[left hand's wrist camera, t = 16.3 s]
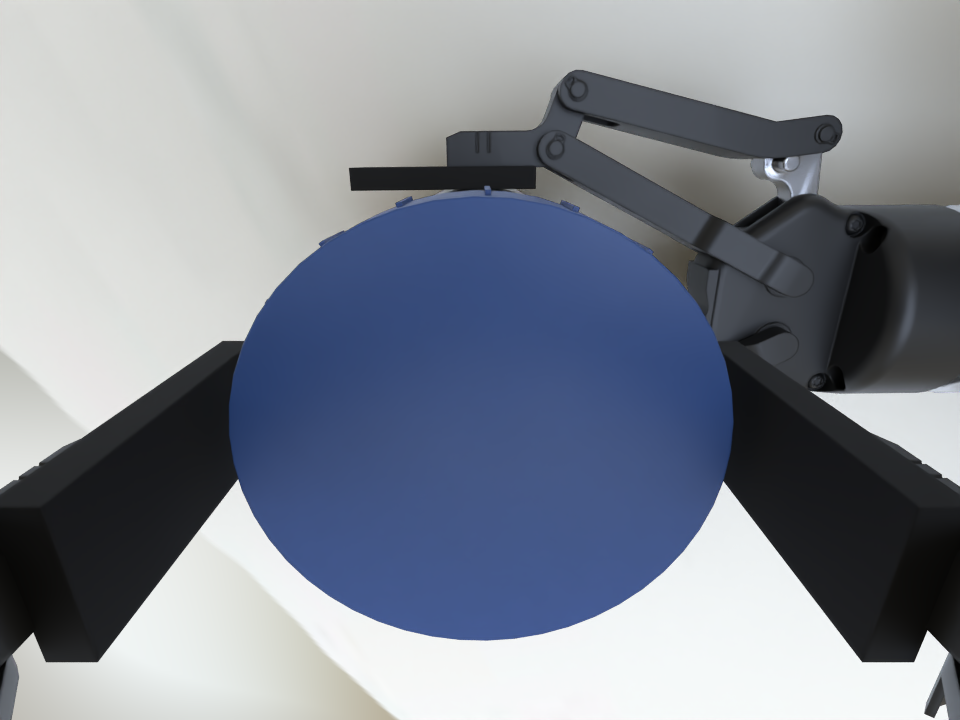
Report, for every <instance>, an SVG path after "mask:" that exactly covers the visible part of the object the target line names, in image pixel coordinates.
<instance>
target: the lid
mask: <svg viewBox="0 0 960 720" xmlns="http://www.w3.org/2000/svg"><path fill="white" fill-rule="evenodd" d="M395 204H396V207H394V208H391V209H389V210H386V211H384V212H381V213H379V214H377V215H375V216H373V217H371V218H369V219H367V220H365V221H363V222H361V223H359V224H358V225H356V226H354V227H352V228H351V229H349V230H347V231H345V232H344V231H341V232H339V233H337V234H335V235H333V236H331V237H329V238H327V239H325V240H323V241H321V242H320V243H319V245H320V246H321V247H320V248H319V249H318V250H316V251H315V252H314V253H312V254H311V255H310V256H309V257H307V258H306V259H305V260H304V261H302V262H301V263H300V264H299V265H298V266H297V267H296V268H295V269H294V270H293V271H292V272H291V273H290V274H289V275H288V276H287V277H286V278H285V279H284V281H283V282H282V283H281V284H280V285H279V286H278V287H277V288H276V289H275V291H274V292H273V293H272V295H271V296H270V298H269V299H267V301H266V302H265V305H264V306H263V308H262V309H261V311H260V312H259V314H258V315H257V317H256V319H255V321H254V323H253V325H252V327H251V329H250V331H249V333H248V335H247V337H246V339H245V341H244V343H243V345H242V349H241V352H240V355H239V358H238V361H237V365H236V368H235V371H234V374H233V381H232V388H231V394H230V401H229V437H230V443H231V450H232V456H233V463H234V466H235V469H236V473H237V476H238V479H239V482H240V486H241V489H242V492H243V494H244V496H245V498H246V500H247V502H248V504H249V506H250V509H251V511H252V513H253V515H254V517H255V518H256V520H257V521H258V523H259V525H260V526H261V528H262V529H263V531H264V532H265V534H266V535H267V537H268V539H269V540H270V541H271V542H272V544H273V545H274V546H275V547H276V548H277V549H278V551H279V552H280V553H281V554H282V555H283V557H284V558H285V559H286V560H287V561H288V562H289V563H290V564H291V565H292V566H293V567H294V568H295V569H296V570H297V571H298V572H299V573H301V574H302V575H303V576H304V577H305V578H306V579H307V580H308V581H310V582H311V583H312V584H314V585H315V586H316V587H318V588H319V589H320V590H322V591H323V592H324V593H326V594H327V595H328V596H330V597H332V598H333V599H335V600H337V601H338V602H340V603H342V604H344V605H345V606H347V607H349V608H350V609H352V610H354V611H356V612H358V613H361V614H363V615H365V616H367V617H370V618H372V619H374V620H376V621H378V622H381V623H384V624H387V625H390V626H393V627H396V628H399V629H402V630H406V631H410V632H415V633H419V634H424V635H428V636H433V637H441V638H449V639H457V640H501V639H515V638H521V637H527V636H533V635H539V634H544V633H547V632H551V631H555V630H558V629H562V628H566V627H569V626H572V625H574V624H577V623H580V622H582V621H585V620H588V619H590V618H593V617H595V616H597V615H599V614H601V613H603V612H605V611H607V610H609V609H611V608H613V607H615V606H617V605H619V604H620V603H622V602H624V601H625V600H627V599H628V598H630V597H631V596H633V595H634V594H636V593H637V592H639V591H641V590H642V589H643V588H645V587H646V586H647V585H648V584H649V583H651V582H652V581H653V580H654V579H656V578H657V577H658V576H659V575H660V574H662V573H663V572H664V571H665V570H666V569H667V568H668V567H669V566H670V565H671V564H672V563H673V562H674V561H675V560H676V559H677V557H678V556H679V555H680V554H681V553H682V552H683V551H684V550H685V548H686V547H687V546H688V544H689V543H690V542H691V540H692V539H693V538H694V536H695V535H696V534H697V532H698V531H699V530H700V528H701V526H702V525H703V523H704V521H705V519H706V518H707V516H708V514H709V512H710V511H711V509H712V507H713V505H714V503H715V500H716V498H717V495H718V493H719V490H720V488H721V485H722V483H723V480H724V477H725V473H726V469H727V465H728V461H729V457H730V453H731V444H732V433H733V423H734V422H733V404H732V390H731V386H730V381H729V376H728V372H727V367H726V362H725V360H724V357H723V354H722V352H721V349H720V346H719V344H718V341H717V339H716V336H715V333H714V331H713V330H712V328H711V326H710V324H709V323H708V321H707V319H706V317H705V316H704V314H703V312H702V310H701V309H700V307H699V305H698V304H697V302H696V301H695V300H694V299H693V297H692V296H691V295H690V294H689V292H688V291H687V290H686V288H685V287H684V286H683V285H682V283H681V282H680V281H679V280H678V278H677V277H676V276H675V275H674V274H672V273H671V272H670V271H669V270H668V269H667V268H666V267H665V266H664V265H663V264H662V263H661V262H659V261H658V260H657V259H656V258H655V257H654V256H653V255H652V253H653V251H652V250H651V249H649V248H647V247H645V246H643V245H641V244H639V243H637V242H636V241H634V240H632V239H630V238H628V237H626V236H625V235H623V234H622V233H620V232H618V231H616V230H614V229H612V228H610V227H608V226H606V225H604V224H602V223H600V222H598V221H596V220H594V219H592V218H590V217H588V216H585V215H583V214H581V213H579V212H578V211H579V209H580V208H579V207H577V206H575V205H573V204H570V203H568V202H566V201H563V200H562V201H561V203H560V204H558V203H555V202H551V201H548V200H545V199H542V198H539V197H535V196H529V195H524V194H518V193H512V192H507V191H491V188H490V186H484V190H470V191H460V192H450V193H441V194H437V195H433V196H429V197H425V198H420V199H416V200H413V199H412V196H411V197H407V198H405V199H403V200H401V201H399V202H397V203H395Z"/></svg>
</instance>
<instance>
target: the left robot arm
mask: <svg viewBox="0 0 960 720" xmlns="http://www.w3.org/2000/svg"><path fill="white" fill-rule="evenodd" d="M243 343H244V341H222V342H221V343H219V344H218V345H216V346H215V347H213V348H212V349H210V350H209V351H208V352H206V353H205V354H203V355H202V356H200V357H199V358H197V359H196V360H195V361H193V362H192V363H190V364H189V365H187V366H186V367H184V368H183V369H182V370H180V371H179V372H177V373H176V374H174V375H173V376H171V377H170V378H168V379H167V380H166V381H164V382H163V383H161V384H160V385H158V386H157V387H155V388H154V389H153V390H151V391H150V392H148V393H147V394H145V395H144V396H142V397H141V398H139V399H138V400H137V401H135V402H134V403H132V404H131V405H129V406H128V407H126V408H125V409H124V410H122V411H121V412H119V413H118V414H116V415H115V416H113V417H112V418H111V419H109V420H108V421H106V422H105V423H103V424H102V425H100V426H99V427H97V428H96V429H95V430H93V431H92V432H90V433H89V434H87V435H86V436H84V437H83V438H82V439H79V440H77V441H75V442H73V443H70V444H68V445H66V446H64V447H62V448H61V449H59V450H58V451H56V452H55V453H53V454H52V455H50V456H49V457H47V458H46V459H44V460H43V461H41V462H40V463H39V466H34V467H33V468H31V469H30V470H28V471H27V472H25V473H24V474H22V475H21V476H19V480H13V481H12V482H10V483H9V484H7V485H6V486H5V487H3V488H2V489H0V720H11V719H12V713H13V708H14V702H15V697H16V691H17V686H18V680H19V674H18V668H17V665H16V662H15V660H14V658H13V656H12V654H13V653H14V652H15V651H16V650H17V649H18V648H19V647H20V646H21V645H22V643H23V642H24V641H25V640H26V639H27V638H28V637H29V636H30V635H31V634H32V633H34V635H35V637H36V640H37V642H38V644H39V647H40V649H41V652H42V654H43V656H44V659H45V661H46V662H98V661H99V660H100V658H101V657H102V656H103V654H104V653H105V652H106V651H107V649H108V648H109V647H110V645H111V644H112V643H113V641H114V640H115V639H116V638H117V636H118V635H119V634H120V632H121V631H122V630H123V628H124V627H125V626H126V625H127V623H128V622H129V621H130V619H131V618H132V617H133V615H134V614H135V613H136V612H137V610H138V609H139V608H140V606H141V605H142V604H143V602H144V601H145V600H146V598H147V597H148V596H149V595H150V593H151V592H152V591H153V589H154V588H155V587H156V585H157V584H158V583H159V582H160V580H161V579H162V578H163V576H164V575H165V574H166V572H167V571H168V570H169V568H170V567H171V566H172V565H173V563H174V562H175V561H176V559H177V558H178V557H179V555H180V554H181V553H182V551H183V550H184V549H185V548H186V546H187V545H188V544H189V542H190V541H191V540H192V538H193V537H194V536H195V535H196V533H197V532H198V531H199V529H200V528H201V527H202V525H203V524H204V523H205V522H206V520H207V519H208V518H209V516H210V515H211V514H212V512H213V511H214V510H215V508H216V507H217V506H218V505H219V503H220V502H221V501H222V499H223V498H224V497H225V495H226V494H227V493H228V492H229V490H230V489H231V488H232V486H233V485H234V484H235V482H236V481H237V480H238V476H237V473H236V469H235V466H234V463H233V456H232V450H231V443H230V437H229V401H230V394H231V388H232V381H233V374H234V371H235V368H236V365H237V361H238V358H239V355H240V352H241V349H242V345H243ZM718 344H719V346H720V349H721V352H722V354H723V357H724V360H725V362H726V367H727V372H728V376H729V381H730V386H731V390H732V404H733V422H734V423H733V433H732V444H731V453H730V457H729V461H728V465H727V469H726V473H725V477H724V480H723V481H724V482H725V484H726V485H727V486H728V488H729V489H730V490H731V492H732V493H733V494H734V495H735V497H736V498H737V499H738V501H739V502H740V503H741V505H742V506H743V507H744V508H745V510H746V511H747V512H748V514H749V515H750V516H751V518H752V519H753V520H754V522H755V523H756V524H757V525H758V527H759V528H760V529H761V531H762V532H763V533H764V535H765V536H766V537H767V538H768V540H769V541H770V542H771V544H772V545H773V546H774V548H775V549H776V550H777V552H778V553H779V554H780V555H781V557H782V558H783V559H784V561H785V562H786V563H787V565H788V566H789V567H790V568H791V570H792V571H793V572H794V574H795V575H796V576H797V578H798V579H799V580H800V582H801V583H802V584H803V585H804V587H805V588H806V589H807V591H808V592H809V593H810V595H811V596H812V597H813V598H814V600H815V601H816V602H817V604H818V605H819V606H820V608H821V609H822V610H823V612H824V613H825V614H826V615H827V617H828V618H829V619H830V621H831V622H832V623H833V625H834V626H835V627H836V628H837V630H838V631H839V632H840V634H841V635H842V636H843V638H844V639H845V640H846V641H847V643H848V644H849V645H850V647H851V648H852V649H853V651H854V652H855V653H856V655H857V656H858V657H859V658H860V660H861V661H862V662H914V661H915V659H916V656H917V654H918V652H919V649H920V647H921V644H922V642H923V640H924V637H925V635H926V633H927V630H928V631H929V632H930V633H931V634H932V635H933V636H934V637H935V638H936V639H937V640H938V641H939V642H940V643H941V645H942V646H943V647H944V648H945V649H946V650H947V651H948V652H949V654H948V656H947V658H946V660H945V662H944V665H943V667H942V669H941V671H940V674H939V676H938V678H937V680H936V682H935V685H934V687H933V689H932V691H931V693H930V696H929V698H928V700H927V702H926V707H925V712H924V714H926V715H928V716H931V717H933V718H934V717H935V715H936V713H937V711H938V709H939V707H940V706H942V705H945V704H946V706H947V712H948V717H949V720H960V486H958V485H957V484H955V483H954V482H952V481H951V480H949V479H948V478H942V474H940V473H939V472H937V471H936V470H934V469H933V468H931V467H930V466H928V465H927V464H922V463H921V462H922V461H921V460H919V459H918V458H916V457H915V456H914V455H912V454H911V453H909V452H908V451H906V450H905V449H903V448H902V447H900V446H899V445H897V444H895V443H892V442H890V441H888V440H886V439H883V438H881V437H879V436H877V435H874V434H872V433H870V432H868V431H867V430H865V429H864V428H863V427H861V426H860V425H858V424H857V423H855V422H854V421H852V420H851V419H849V418H848V417H847V416H845V415H844V414H842V413H841V412H839V411H838V410H836V409H835V408H834V407H832V406H831V405H829V404H828V403H826V402H825V401H823V400H822V399H821V398H819V397H818V396H816V395H815V394H813V393H812V392H810V391H809V390H807V389H806V388H805V387H803V386H802V385H800V384H799V383H797V382H796V381H794V380H793V379H792V378H790V377H789V376H787V375H786V374H784V373H783V372H781V371H780V370H778V369H777V368H776V367H774V366H773V365H771V364H770V363H768V362H767V361H765V360H764V359H763V358H761V357H760V356H758V355H757V354H755V353H754V352H752V351H751V350H749V349H748V348H747V347H745V346H744V345H742V344H741V343H739V342H738V341H718Z"/></svg>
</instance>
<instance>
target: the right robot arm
mask: <svg viewBox="0 0 960 720" xmlns="http://www.w3.org/2000/svg"><path fill="white" fill-rule="evenodd" d="M582 121H584V122H588V123H592V124H596V125H599V126H603V127H607V128H611V129H615V130H619V131H623V132H627V133H630V134H634V135H638V136H642V137H646V138H650V139H654V140H658V141H662V142H665V143H669V144H673V145H677V146H681V147H685V148H689V149H693V150H696V151H700V152H704V153H708V154H712V155H716V156H720V157H726V158H734V159H752V161H751V168H752V171H753V174H754V175H755V176H756V177H757V178H759V179H763V180H769V181H771V182H773V183H774V185H775V186H776V188H777V191H778V196H776V197H774V198H773V199H771V200H770V201H768V202H767V203H765V204H764V205H762V206H761V207H759V208H758V209H756V210H755V211H753V212H752V213H750V214H749V215H747V216H746V217H744V218H743V219H742V220H740V221H739V222H737V223H736V224H734V225H732V224H730V223H728V222H726V221H724V220H722V219H720V218H717V217H715V216H713V215H711V214H709V213H707V212H705V211H703V210H702V209H700V208H698V207H696V206H695V205H693V204H691V203H689V202H688V201H686V200H684V199H682V198H680V197H679V196H677V195H675V194H673V193H672V192H670V191H668V190H666V189H665V188H663V187H661V186H659V185H658V184H656V183H654V182H652V181H650V180H649V179H647V178H645V177H643V176H642V175H640V174H638V173H636V172H635V171H633V170H631V169H629V168H628V167H626V166H624V165H622V164H620V163H619V162H617V161H615V160H613V159H612V158H610V157H608V156H606V155H605V154H603V153H601V152H599V151H597V150H596V149H594V148H592V147H590V146H589V145H587V144H585V143H583V142H582V141H580V140H578V139H576V137H577V134H578V131H579V129H580V126H581V124H582ZM841 135H842V124H841V122H840V120H839V119H838V118H836V117H835V116H833V115H823V116H815V117H808V118H800V119H793V120H785V121H777V122H776V121H772V120H768V119H765V118H761V117H757V116H753V115H750V114H746V113H742V112H738V111H735V110H731V109H727V108H723V107H720V106H716V105H712V104H708V103H704V102H701V101H697V100H693V99H689V98H686V97H682V96H678V95H674V94H671V93H667V92H663V91H659V90H656V89H652V88H648V87H644V86H641V85H637V84H633V83H629V82H626V81H622V80H618V79H614V78H611V77H607V76H603V75H599V74H596V73H592V72H588V71H584V70H574V71H572V72H570V73H568V74H567V75H566V76H565V77H564V78H563V79H562V80H561V81H560V82H559V83H558V84H557V85H556V87H555V88H554V89H553V91H552V93H551V99H550V102H549V104H548V107H547V110H546V113H545V115H544V118H543V120H542V122H541V123H540V125H539V126H538V127H537V128H535V129H533V130H528V131H460V132H458V133H456V134H453V135H451V136H449V137H447V138H446V145H447V167H363V168H349V173H350V183H351V191H367V190H463V189H484V186H490V188H491V189H536V167H544V168H546V169H548V170H550V171H551V172H553V173H555V174H557V175H559V176H560V177H562V178H564V179H566V180H568V181H570V182H571V183H573V184H575V185H577V186H579V187H580V188H582V189H584V190H586V191H588V192H590V193H591V194H593V195H595V196H597V197H599V198H600V199H602V200H604V201H606V202H608V203H610V204H611V205H613V206H615V207H617V208H619V209H621V210H622V211H624V212H626V213H628V214H630V215H631V216H633V217H635V218H637V219H639V220H641V221H642V222H644V223H646V224H648V225H650V226H651V227H653V228H655V229H657V230H659V231H661V232H662V233H664V234H666V235H668V236H670V237H671V238H672V239H674V240H676V241H678V242H679V243H681V244H683V245H685V246H687V247H688V248H690V249H692V250H694V251H696V252H698V254H697V256H696V258H695V260H694V261H689V264H688V271H687V286H688V292H689V294H690V295H691V296H692V297H693V299H694V300H695V301H696V302H697V304H698V305H699V307H700V309H701V310H702V312H703V314H704V316H705V317H706V319H707V321H708V323H709V324H710V326H711V328H712V330H713V331H714V333H715V336H716V339H717V341H738V342H739V343H741V344H742V345H744V346H745V347H747V348H748V349H749V350H751V351H752V352H754V353H755V354H757V355H758V356H760V357H761V358H763V359H764V360H765V361H767V362H768V363H770V364H771V365H773V366H774V367H776V368H777V369H778V370H780V371H781V372H783V373H784V374H786V375H787V376H789V377H790V378H792V379H793V380H794V381H796V382H797V383H799V384H800V385H802V386H803V387H805V388H806V389H807V390H809V391H816V392H826V393H918V392H925V391H930V392H934V393H950V392H960V205H948V206H939V205H843V206H840V205H836V204H834V203H832V202H830V201H829V200H827V199H826V198H824V197H822V196H820V195H818V187H819V177H820V168H821V159H822V153H824V152H827V151H830V150H831V149H832V148H834V147H835V146H836V145H837V143H838V142H839V140H840V139H841Z"/></svg>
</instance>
